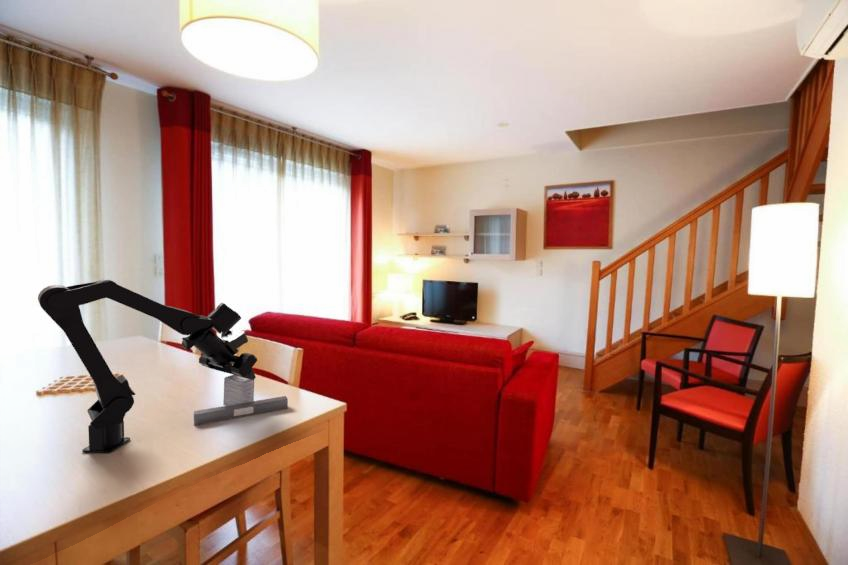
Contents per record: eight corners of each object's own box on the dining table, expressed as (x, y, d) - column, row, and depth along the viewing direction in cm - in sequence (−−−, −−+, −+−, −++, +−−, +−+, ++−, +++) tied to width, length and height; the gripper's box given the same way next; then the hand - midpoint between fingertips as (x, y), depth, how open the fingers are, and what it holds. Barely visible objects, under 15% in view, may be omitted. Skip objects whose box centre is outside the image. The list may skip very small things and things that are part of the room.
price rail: (194, 426, 104) (194, 415, 104) (193, 421, 106) (193, 411, 106) (287, 408, 117) (287, 399, 117) (285, 405, 119) (285, 395, 119)
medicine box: (254, 406, 118) (255, 378, 117) (241, 411, 114) (242, 381, 113) (235, 401, 121) (236, 373, 121) (222, 405, 117) (223, 376, 117)
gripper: (252, 326, 108) (282, 358, 118) (209, 318, 117) (241, 349, 127) (225, 360, 102) (259, 391, 112) (182, 349, 110) (217, 378, 121)
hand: (244, 375), depth 118 cm, fingers open, 8 cm apart
